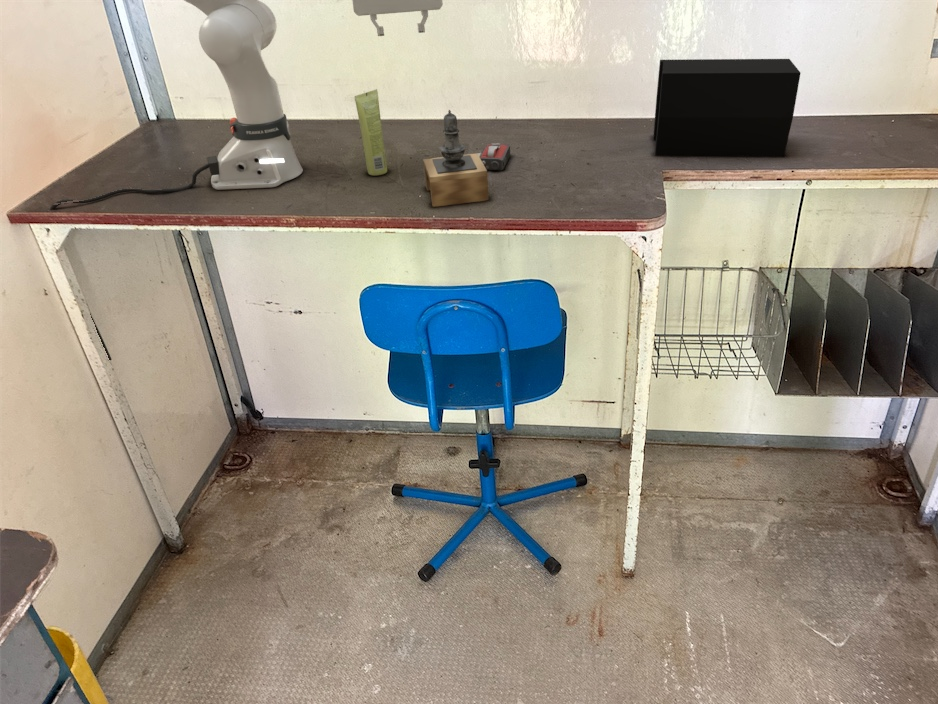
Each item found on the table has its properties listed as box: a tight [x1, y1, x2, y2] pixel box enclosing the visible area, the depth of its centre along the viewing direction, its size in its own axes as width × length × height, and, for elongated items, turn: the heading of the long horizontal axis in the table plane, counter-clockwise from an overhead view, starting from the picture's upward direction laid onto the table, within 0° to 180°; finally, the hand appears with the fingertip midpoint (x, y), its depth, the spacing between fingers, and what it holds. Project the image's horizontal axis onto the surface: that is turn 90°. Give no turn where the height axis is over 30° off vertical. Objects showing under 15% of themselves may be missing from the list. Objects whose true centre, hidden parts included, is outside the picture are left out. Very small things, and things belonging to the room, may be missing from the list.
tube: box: [354, 88, 388, 176], centre depth 174 cm, size 6×5×20 cm
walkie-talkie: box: [477, 142, 511, 171], centre depth 179 cm, size 9×4×20 cm
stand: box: [422, 152, 489, 208], centre depth 165 cm, size 13×12×7 cm
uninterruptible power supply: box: [652, 58, 801, 158], centre depth 181 cm, size 16×34×20 cm, turn 83°
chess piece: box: [439, 109, 466, 168], centre depth 159 cm, size 6×6×12 cm
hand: (401, 33), depth 165 cm, fingers open, 8 cm apart
